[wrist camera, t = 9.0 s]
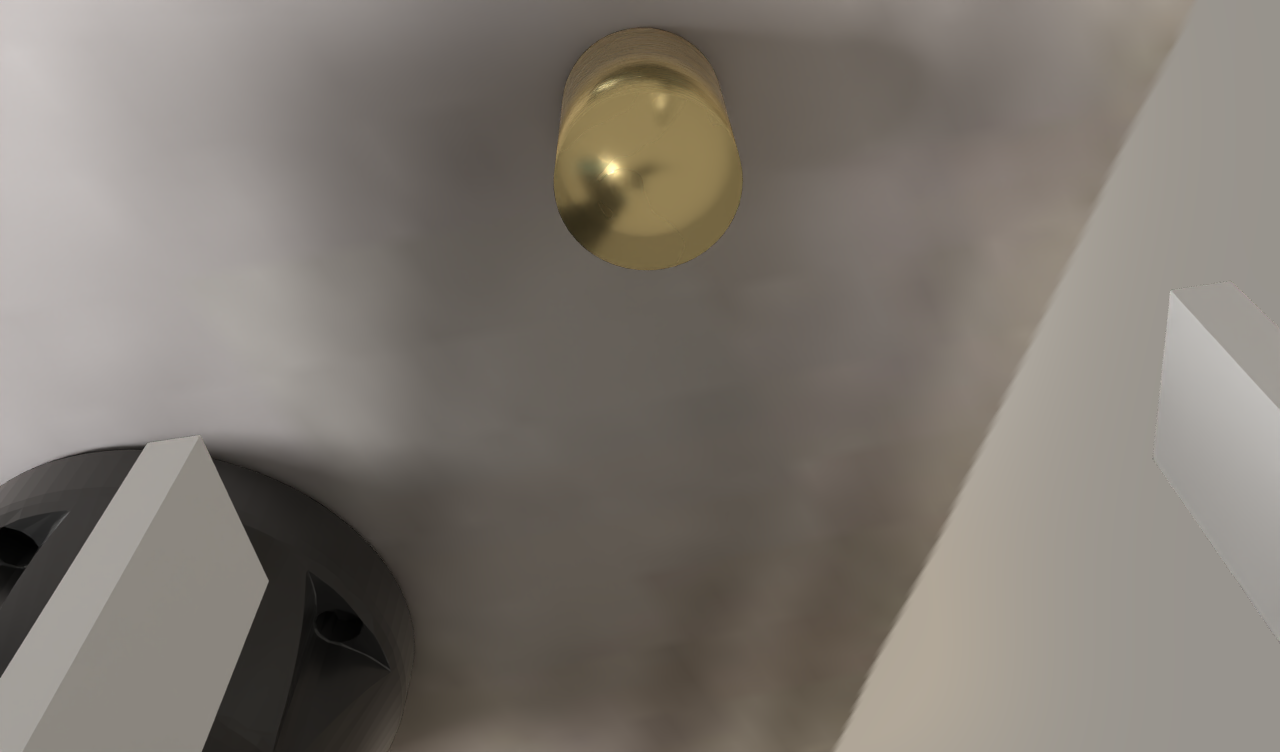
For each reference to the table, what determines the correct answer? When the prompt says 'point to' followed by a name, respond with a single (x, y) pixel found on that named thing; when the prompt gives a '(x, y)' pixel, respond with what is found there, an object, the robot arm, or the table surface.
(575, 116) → the roller
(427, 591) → the table surface
